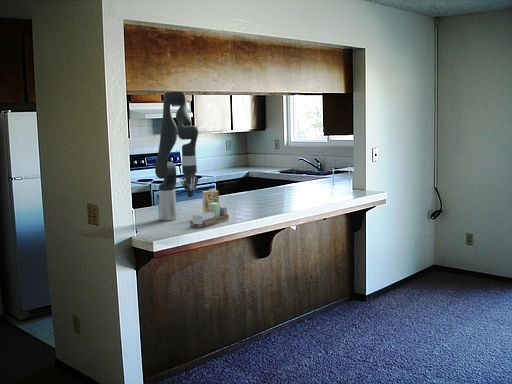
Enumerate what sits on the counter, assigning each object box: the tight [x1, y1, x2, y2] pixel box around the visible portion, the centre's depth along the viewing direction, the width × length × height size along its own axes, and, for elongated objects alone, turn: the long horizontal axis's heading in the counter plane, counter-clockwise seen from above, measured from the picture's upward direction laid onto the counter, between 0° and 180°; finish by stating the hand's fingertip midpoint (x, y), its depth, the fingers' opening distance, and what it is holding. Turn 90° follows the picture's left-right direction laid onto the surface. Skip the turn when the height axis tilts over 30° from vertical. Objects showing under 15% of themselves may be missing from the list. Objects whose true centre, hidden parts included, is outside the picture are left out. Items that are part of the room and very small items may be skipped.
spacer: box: [209, 202, 221, 218], centre depth 339 cm, size 4×4×9 cm
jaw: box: [191, 211, 215, 225], centre depth 330 cm, size 6×12×5 cm, turn 151°
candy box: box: [201, 189, 220, 212], centre depth 353 cm, size 9×4×15 cm, turn 120°
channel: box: [189, 206, 230, 228], centre depth 335 cm, size 10×24×7 cm, turn 151°
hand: (190, 197), depth 318 cm, fingers closed
